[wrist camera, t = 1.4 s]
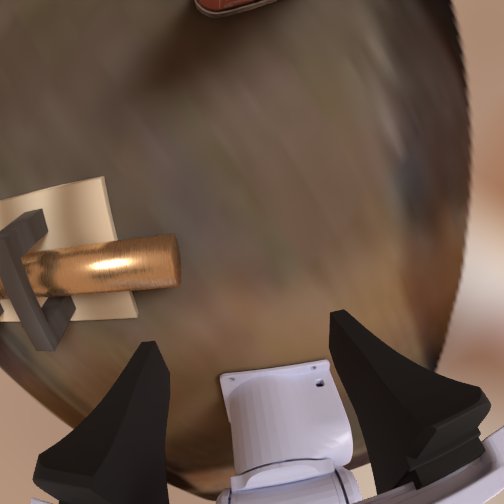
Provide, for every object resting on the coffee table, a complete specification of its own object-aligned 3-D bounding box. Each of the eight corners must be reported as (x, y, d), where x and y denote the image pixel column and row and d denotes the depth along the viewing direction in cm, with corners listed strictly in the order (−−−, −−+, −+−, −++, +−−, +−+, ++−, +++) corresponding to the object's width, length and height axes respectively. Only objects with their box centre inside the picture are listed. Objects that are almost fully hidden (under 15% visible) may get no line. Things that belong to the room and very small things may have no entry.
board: (104, 176, 17) (67, 203, 12) (138, 312, 21) (124, 364, 16) (-61, 220, 15) (-97, 247, 11) (-22, 317, 20) (-47, 352, 15)
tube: (174, 225, 18) (167, 247, 15) (182, 269, 19) (178, 297, 17) (0, 250, 17) (-22, 270, 14) (13, 285, 18) (-5, 308, 16)
